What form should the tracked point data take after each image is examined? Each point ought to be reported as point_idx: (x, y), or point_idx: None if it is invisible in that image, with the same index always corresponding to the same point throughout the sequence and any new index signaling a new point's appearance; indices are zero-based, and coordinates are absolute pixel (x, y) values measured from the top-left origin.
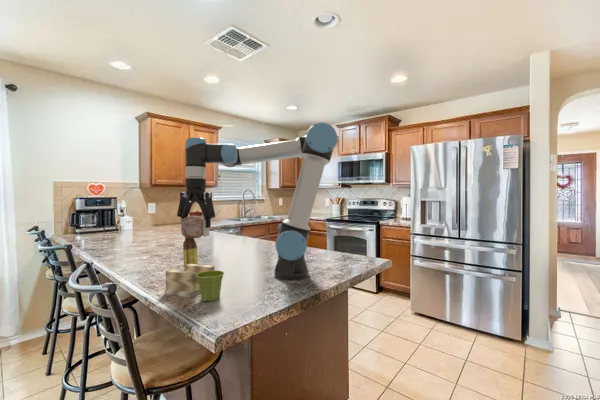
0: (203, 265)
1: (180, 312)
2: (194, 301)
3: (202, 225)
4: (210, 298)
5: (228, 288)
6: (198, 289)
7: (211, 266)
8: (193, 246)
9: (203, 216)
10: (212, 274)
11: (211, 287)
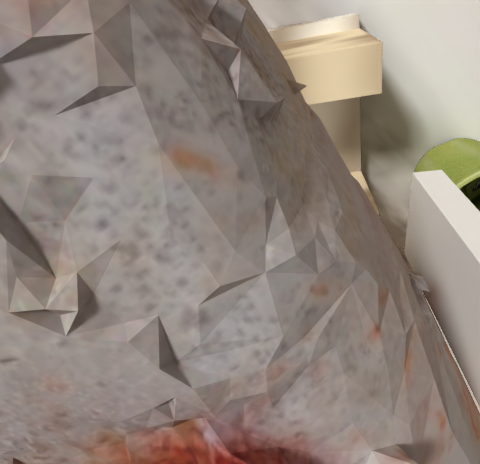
0: (292, 73)
1: (423, 294)
2: (403, 220)
3: (464, 382)
4: (478, 204)
5: (462, 14)
6: (358, 160)
7: (372, 67)
8: None
9: (365, 411)
10: (469, 172)
11: None
